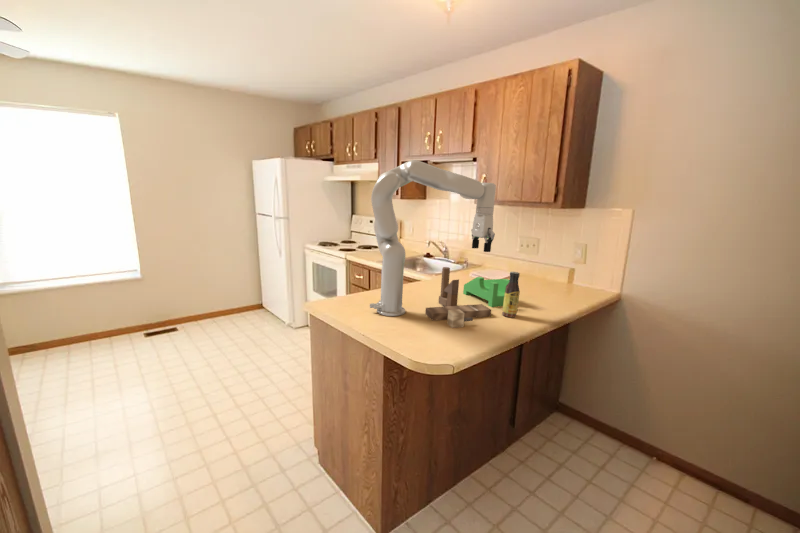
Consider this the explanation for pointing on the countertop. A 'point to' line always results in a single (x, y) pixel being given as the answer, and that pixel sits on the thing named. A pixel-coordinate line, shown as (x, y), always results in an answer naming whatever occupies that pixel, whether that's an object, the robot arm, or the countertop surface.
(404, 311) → the robot arm
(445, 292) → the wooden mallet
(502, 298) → the green cradle stand
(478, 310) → the walnut board
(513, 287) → the sauce bottle
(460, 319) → the block
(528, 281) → the countertop surface
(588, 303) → the countertop surface
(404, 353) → the countertop surface
